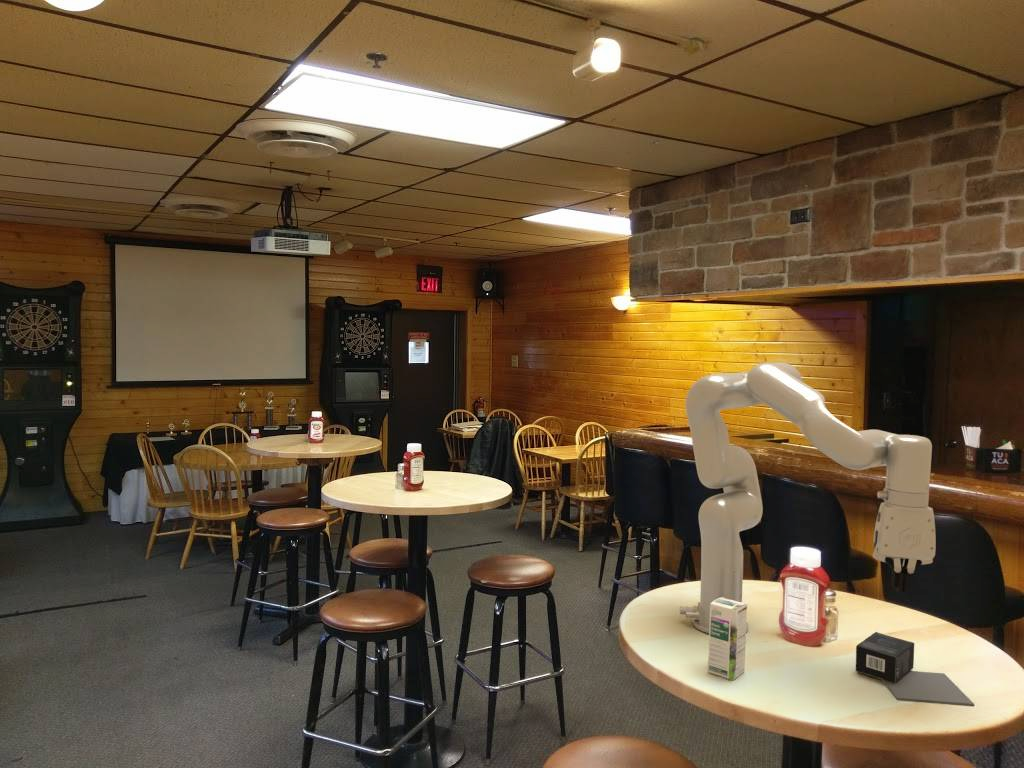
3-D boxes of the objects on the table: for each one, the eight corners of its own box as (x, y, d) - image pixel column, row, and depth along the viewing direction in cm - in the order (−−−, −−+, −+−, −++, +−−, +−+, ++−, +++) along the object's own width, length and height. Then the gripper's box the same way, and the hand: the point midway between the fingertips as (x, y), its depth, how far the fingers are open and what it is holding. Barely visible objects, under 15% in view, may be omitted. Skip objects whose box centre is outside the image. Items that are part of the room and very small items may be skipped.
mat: (897, 699, 140) (897, 697, 140) (873, 670, 153) (874, 668, 153) (974, 706, 138) (974, 703, 138) (944, 675, 151) (944, 673, 151)
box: (895, 684, 145) (914, 668, 152) (896, 656, 145) (915, 641, 152) (854, 671, 151) (874, 656, 158) (855, 644, 151) (875, 630, 158)
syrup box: (706, 672, 150) (708, 602, 149) (719, 663, 155) (721, 595, 154) (733, 681, 146) (735, 609, 146) (745, 671, 151) (748, 602, 150)
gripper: (872, 500, 141) (866, 594, 142) (956, 505, 139) (949, 600, 140) (859, 492, 149) (854, 581, 150) (939, 496, 146) (933, 587, 148)
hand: (900, 590), depth 145 cm, fingers closed
